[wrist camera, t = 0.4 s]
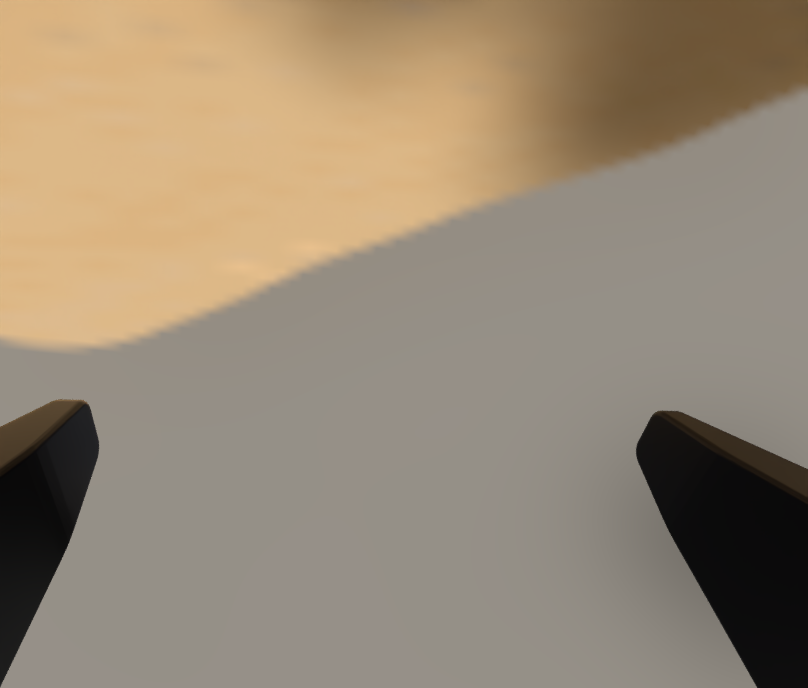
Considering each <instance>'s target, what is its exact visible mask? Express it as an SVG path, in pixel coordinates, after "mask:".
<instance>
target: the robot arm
mask: <svg viewBox="0 0 808 688" xmlns="http://www.w3.org/2000/svg"><path fill="white" fill-rule="evenodd" d="M98 453H99V440H98V436H97V432H96V428H95V424H94V421H93V417H92V413H91V409H90V406H89V404H88V403H87V402H85V401H84V400H62V399H60V400H55V401H52V402H50V403H48V404H46V405H44V406H42V407H40V408H38V409H36V410H34V411H32V412H30V413H28V414H25V415H23V416H22V417H19V418H18V419H16V420H13V421H11V422H9V423H7V424H5V425H3V426H1V427H0V686H1V684H2V682H3V680H4V678H5V676H6V674H7V671H8V670H9V668H10V666H11V663H12V661H13V659H14V657H15V655H16V653H17V651H18V649H19V647H20V645H21V642H22V640H23V639H24V637H25V634H26V632H27V630H28V628H29V626H30V624H31V622H32V620H33V618H34V616H35V614H36V612H37V610H38V607H39V605H40V603H41V601H42V599H43V597H44V595H45V593H46V591H47V589H48V587H49V584H50V582H51V580H52V578H53V576H54V574H55V572H56V570H57V568H58V566H59V564H60V562H61V560H62V557H63V555H64V553H65V551H66V549H67V546H68V544H69V541H70V539H71V536H72V533H73V531H74V528H75V525H76V522H77V519H78V516H79V513H80V510H81V507H82V504H83V501H84V497H85V495H86V492H87V489H88V485H89V483H90V480H91V477H92V474H93V471H94V467H95V465H96V461H97V458H98ZM636 456H637V460H638V463H639V465H640V467H641V470H642V472H643V474H644V476H645V479H646V480H647V483H648V486H649V488H650V490H651V492H652V495H653V497H654V499H655V502H656V504H657V506H658V508H659V511H660V513H661V515H662V518H663V520H664V522H665V524H666V526H667V528H668V530H669V532H670V534H671V536H672V538H673V540H674V542H675V543H676V545H677V547H678V549H679V550H680V552H681V554H682V556H683V557H684V559H685V561H686V563H687V564H688V566H689V568H690V570H691V572H692V573H693V575H694V577H695V579H696V580H697V582H698V584H699V586H700V588H701V589H702V591H703V593H704V595H705V596H706V598H707V600H708V601H709V603H710V605H711V607H712V609H713V611H714V612H715V614H716V616H717V618H718V619H719V621H720V623H721V624H722V626H723V628H724V630H725V632H726V633H727V635H728V637H729V639H730V640H731V642H732V644H733V646H734V647H735V649H736V651H737V653H738V655H739V656H740V658H741V660H742V662H743V663H744V665H745V667H746V669H747V671H748V672H749V674H750V676H751V677H752V679H753V681H754V683H755V684H756V686H757V688H808V469H806V468H804V467H802V466H800V465H798V464H795V463H793V462H791V461H788V460H786V459H784V458H782V457H780V456H778V455H775V454H773V453H771V452H769V451H766V450H764V449H762V448H760V447H758V446H755V445H753V444H751V443H749V442H746V441H744V440H742V439H739V438H738V437H735V436H733V435H731V434H729V433H727V432H724V431H722V430H720V429H718V428H715V427H713V426H711V425H709V424H707V423H704V422H702V421H700V420H698V419H696V418H693V417H691V416H689V415H686V414H684V413H682V412H679V411H657V412H655V413H654V414H653V415H652V417H651V418H650V420H649V422H648V424H647V426H646V428H645V430H644V432H643V433H642V436H641V437H640V439H639V441H638V443H637V448H636Z"/></svg>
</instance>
